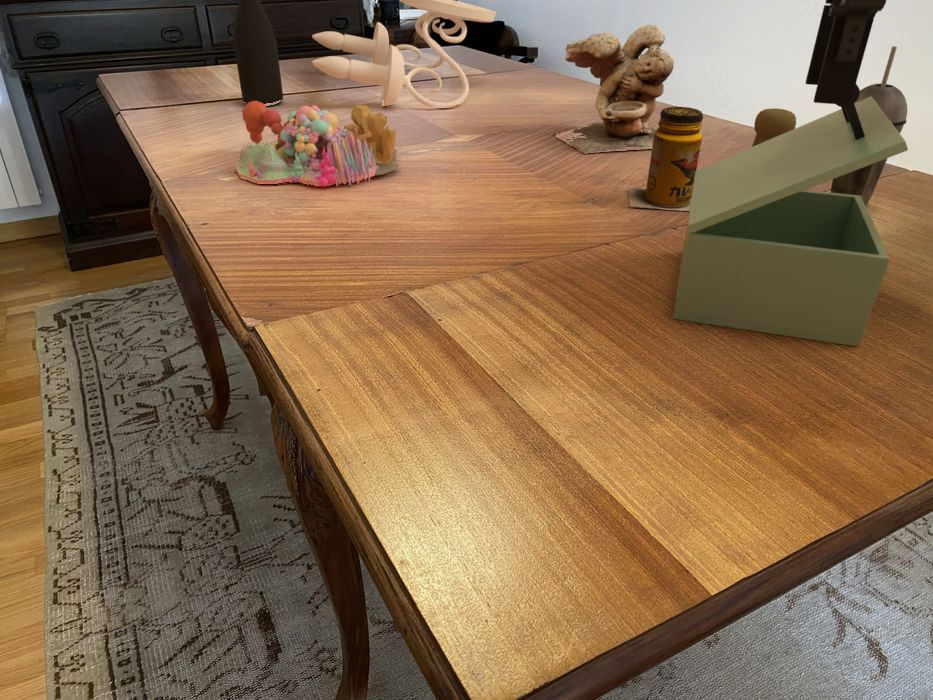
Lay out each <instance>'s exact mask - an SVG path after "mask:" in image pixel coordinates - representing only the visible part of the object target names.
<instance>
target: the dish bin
mask: <svg viewBox="0 0 933 700" xmlns="http://www.w3.org/2000/svg"><path fill="white" fill-rule="evenodd" d="M687 219H688V220H687V222H688V221H689V218H687ZM683 241H684V242H683V245H682V246H683V247H682V253H681V259H680V265H679V266H680V267H679V273H678V279H677V286H676V287H677V288H676V293H675V300H674V307H673V315H672V319H673V320H679V321H685V322H692V323H699V324H705V325H711V326H719V327H725V328H732V329H738V330H745V331H751V332H758V333H765V334H771V335H779V336H785V337H792V338H798V339H806V340H809V341H810V340H811V341H818V342H825V343H831V344H836V345H837V344H838V345H844V346H850V347H851V346H852V347H856V348H857V347H860V344H861V342H862V339H863V336H864V333H865V331H866V327H867V324H868V322H869V319H870V316H871V313H872V311H873V307H874V305H875V302H876V299H877V297H878V294H879V290H880V288H881V286H882V282H883V279H884V277H885V274H886V271H887V268H888V265H889V263H890V257H889V255H888V252H887V250H886V248H885V246H884V243H883V242H882V239H881V237H880V235H879V232H878V231H877V229H876V226H875V224H874V222H873V219H872V217H871V215H870V213H869V211H868V209H867V206H865V204H864V202H863V200H862V198H861V196H859V195H849V194H839V193H830V192H828V191H819V190H818V191H817V190H809V189H806V190H803V191H800V192H798V193H795V194H793V195H790V196H787V197H785V198H782V199H780V200H777V201H774V202H772V203H769V204H767V205H764V206H761V207H759V208H756V209H753V210H751V211H748V212H746V213H743V214H740V215H738V216H735V217H733V218H730V219H727V220H725V221H722V222H720V223H717V224H714V225H712V226H709V227H707V228H704V229H701V230H699V231H696V232H694V233H691V232H690V230H689V227H688V223H687V225H686V231H685V235H684V240H683Z"/></svg>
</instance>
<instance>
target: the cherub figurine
mask: <svg viewBox="0 0 933 700" xmlns="http://www.w3.org/2000/svg"><path fill="white" fill-rule="evenodd" d="M665 40H666V35H665V33H664V31H663V30H662V29H661V28H660V27H659V25H658V24H646V25H643V26H640V27H638V28H637V29H636V30H635V31H634V32H632V33H631V34H630V35H629V36H628V38H627V40H626V41H625V42H624V44H623V45H622V44H621V41H620V40H619V38H618V37H617V36H616V35H613V34H612V33H610V32H603V33H602V32H601V33H599V32H598V33H593V34H591V35H589V36H588V37H587V38H584V39H581V40H577V41H572V42H569V43H567V44H566V47H565V50H564V51H565V52H566V54H565V58H564V59H565V61H566V62H568V63H573V64H574V65H575V67H578V68H583V69H589V71H590V72H589V73H590V74H591V75H592V76H593V77H594V78H596V79H599V86H600V88H599V90H598V92H597V95H596V98H595V108H596V110H597V112H598V115H599V117H600V119H601V120H602V122H593V123H590V124H591V125H589V126H588V127H583V126H582V127H583V128H581V129H574V131H572V132H574V133H582V134H583V135H580V136H584V135H585V137H587V138H577V139H573V140H574V141H572V142H569V144H571V145H573V146H574V147H576V148H577V149H579V150H580V151H582V152H583V153H586V152H587V153H588V152H597V151H605V150H613V149H615V150H616V149H624V148H626V147H635V148H636V147H640V148H644V147H645V148H646V147H648V148H651V147H652V146H653V139H654V134H655V131H656V130H657V129H654V128H652V127H649V126H648V122H649V120H650V118H651V117H652V114H653V113H654V111H655V109H656V105H657V100H656V99H657V98H659V97H661V96H662V95H663V94H664V89H665V86H664V82H666V81H667V79H668V78H669V76H671V75H672V72H673V70H674V68H675V67H674V66H675V60H674V58H673V57H672V56H671V55H670V52H668V51H666V50H664V49H661V47H662V45H664V43H665ZM646 49H647V50H646ZM645 50H646V51H645ZM644 51H645V52H644ZM643 52H644V53H643ZM572 138H574V137H572ZM566 140H570V139H566ZM580 151H579V152H580ZM583 153H582V154H583Z"/></svg>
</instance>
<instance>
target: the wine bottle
mask: <svg viewBox="0 0 933 700" xmlns="http://www.w3.org/2000/svg"><path fill="white" fill-rule="evenodd" d="M237 4H238V5H237V10H236V15H235V18H234V19H235V20H234V24H233V48H234V54H235V58H236V59H235V60H236V66H237V74H238V79H239V80H238V81H239V86H240V92H241V97H242V101H243V103H244V102H246V103H248V102H251V101H259V102H261V103H263V104H266V103H273V102H276V101H279V100H282V99H283V100H284V92H283V85H282V75H281V69H280V60H279V52H278V43H277V39H276V35H275V32H274V29H273V26H272V24H271V22H270V20H269V18H268V16H267V14H266V12H265V10H264V7H263V5H262V3H261V0H238V3H237ZM283 100H282V101H283Z"/></svg>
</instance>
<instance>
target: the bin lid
mask: <svg viewBox="0 0 933 700" xmlns="http://www.w3.org/2000/svg"><path fill="white" fill-rule="evenodd" d="M860 90H861V88H860V87H859V85H858V84H857V83H856V85H855V88H854V92H853V95H852V99H851V103H850V105H842V104H835V105H836V106H838V107H840V109H837V110H836V111H833V112H831V113H828V114H826V115H824V116H822V117H819V118H816V119H815V120H812V121H810V122H807V123H805V124H802V125H799V126H798V127H795V129H793V130H791V131H789V132H786V133H784V134H781V135H779V136H777V137H774V138H772V139H770V140H767V141H765V142H763V143H760V144H758V145H756V146H753V147H752V146H751V147H748V148H746V149H744V150H742V151H740V152H737V153H735V154H732V155H730V156H728V157H726V158H723V159H720V160H718V161H716V162H713V163H711V164H708V165H706V166H703V167H702V168H699V169H697V170H696V171H695V178H694V185H693V191H692V196H691V198H692V200H691V207H690V211H689V214H688V215H689V216H688V219H689V221H688V220H687V224H688V227H689V230H690V232H691V233H694V232H696V231H699V230H701V229H704V228H707V227H709V226H712V225H714V224H717V223H720V222H722V221H725V220H727V219H730V218H733V217H735V216H738V215H740V214H743V213H746V212H748V211H751V210H753V209H756V208H759V207H761V206H764V205H767V204H769V203H772V202H774V201H777V200H780V199H782V198H785V197H787V196H790V195H793V194H795V193H798V192H800V191H803V190H809V189H811V188H814V187H816V186H818V185H819V186H820V185H821V184H824V183H826V182H829V181H831V180H832V181H833V179H834V178H837V177H839V176H842V175H845V174H847V173H850V172H853V171H855V170H858V169H860V168H863V167H866V166H868V165H871V164H873V163H876V162H879V161H881V160H884V159H886V158H888V159H889V158H891V157H894V156H897V155H900V154H902V153H904V152H907V151H908V150H909V148H908V145H907V141H906V140H905V139H904V137H903V136H902V135H901V132H900V133H899V132H898V131H897V129H896V128H895V127H894V125H893V124H892V123H891V122H890V120H889V119H888V118H887V116H886V115H885V114H884V112H883V111H882V110H881V108H880V107H879V106H878V105H877V103H876V102H875V101H874V99H873V98H872V97H868V98H866V99H864V100H861V101H859V102H856V101H857V100H858V98H859V95H860ZM855 102H856V103H855Z"/></svg>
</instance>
